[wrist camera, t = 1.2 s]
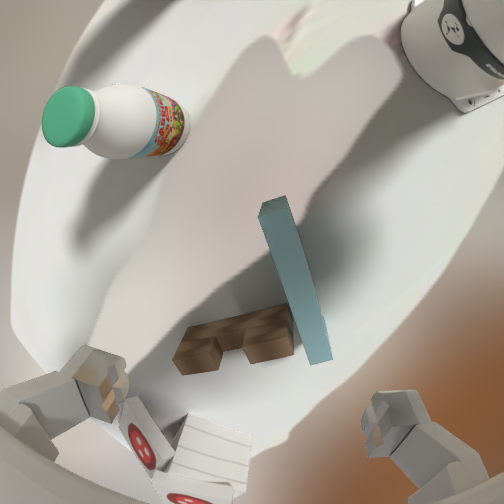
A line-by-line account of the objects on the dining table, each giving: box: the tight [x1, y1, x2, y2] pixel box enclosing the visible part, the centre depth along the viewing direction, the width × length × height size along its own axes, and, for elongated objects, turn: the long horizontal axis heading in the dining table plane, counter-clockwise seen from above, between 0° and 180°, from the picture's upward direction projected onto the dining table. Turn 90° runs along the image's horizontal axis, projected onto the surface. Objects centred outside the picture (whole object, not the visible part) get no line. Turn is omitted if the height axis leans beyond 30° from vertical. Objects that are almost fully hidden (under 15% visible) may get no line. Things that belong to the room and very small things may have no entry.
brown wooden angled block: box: [172, 303, 294, 375], centre depth 38 cm, size 16×3×8 cm, turn 110°
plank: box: [258, 196, 333, 365], centre depth 34 cm, size 3×20×8 cm, turn 20°
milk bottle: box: [42, 83, 190, 159], centre depth 24 cm, size 8×8×20 cm
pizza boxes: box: [119, 396, 253, 504], centre depth 46 cm, size 19×30×18 cm, turn 65°
